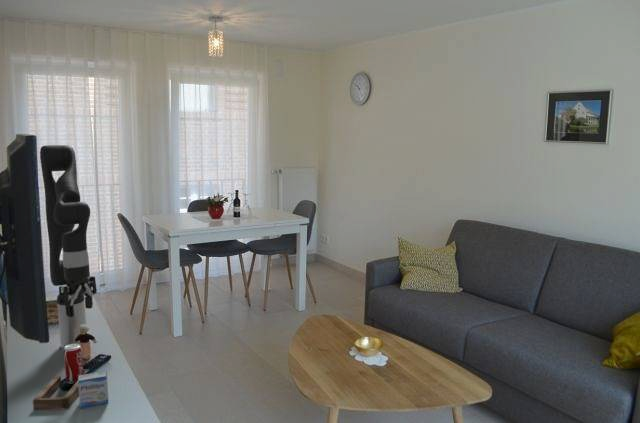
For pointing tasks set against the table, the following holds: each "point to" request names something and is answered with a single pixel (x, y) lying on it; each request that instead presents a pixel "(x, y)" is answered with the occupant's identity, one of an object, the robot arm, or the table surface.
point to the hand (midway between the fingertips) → (80, 312)
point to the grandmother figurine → (85, 341)
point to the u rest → (54, 403)
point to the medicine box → (93, 389)
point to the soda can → (73, 361)
